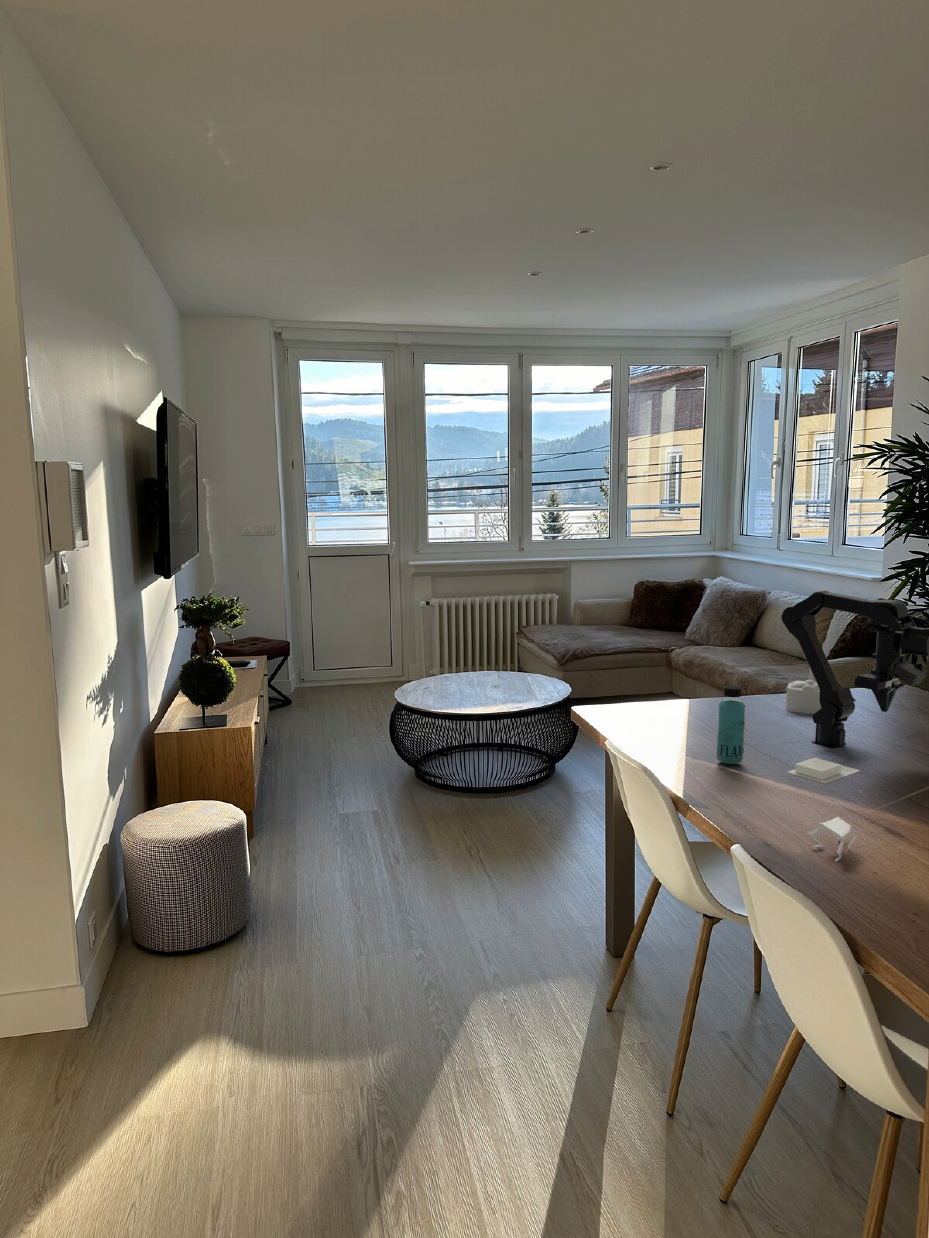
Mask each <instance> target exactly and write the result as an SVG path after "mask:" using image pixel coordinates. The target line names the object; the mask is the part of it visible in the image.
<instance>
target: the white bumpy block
mask: <svg viewBox="0 0 929 1238" xmlns="http://www.w3.org/2000/svg"><path fill="white" fill-rule="evenodd" d="M785 694H786V697H785V699H786V700H785V711H788V712H792V713H797V712H798V713H799V714H809V715H813V714H815V713H816V712H817V711H819V710H820V709H821V706H820V702H819V694H820V690H819V687H818V684H817V682H816V681H814V680H813V679H806V680H805V681H802V680H794V681H792V682H790V683H788V684H787V687H786V693H785ZM798 713H797V714H798Z"/></svg>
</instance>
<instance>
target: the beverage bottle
mask: <svg viewBox="0 0 929 1238" xmlns="http://www.w3.org/2000/svg"><path fill="white" fill-rule="evenodd" d="M723 688H724V690H723V696H724V697H727V698H726V699H725V698H724V699H723V700H721V701H720V702H719V703H718V727H717V728H718V729H717V730H718V731H717V735H716V736H717V738H716V739H717V742H716V743H717V745H716V753H715V754H716V756H715V757H716V759H717V761H719V762H721V763H725V764H730V765H731V764H733V765H734V764H735V765H736V764H740V763H742V762H743V760H744V754H745V753H744V752H745V751H744V750H745V748H744V741H745V740H744V739H745V737H744V734H745V730H746V729H745V726H746V720H745V719H746V718H745V712H746V709H745V708H746V705H745V704H744V702H743V701H742V700H740V699H736V698H740V697H742V689H741V687H740V686H734V685H727V686H725V687H723ZM728 697H729V698H728Z"/></svg>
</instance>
